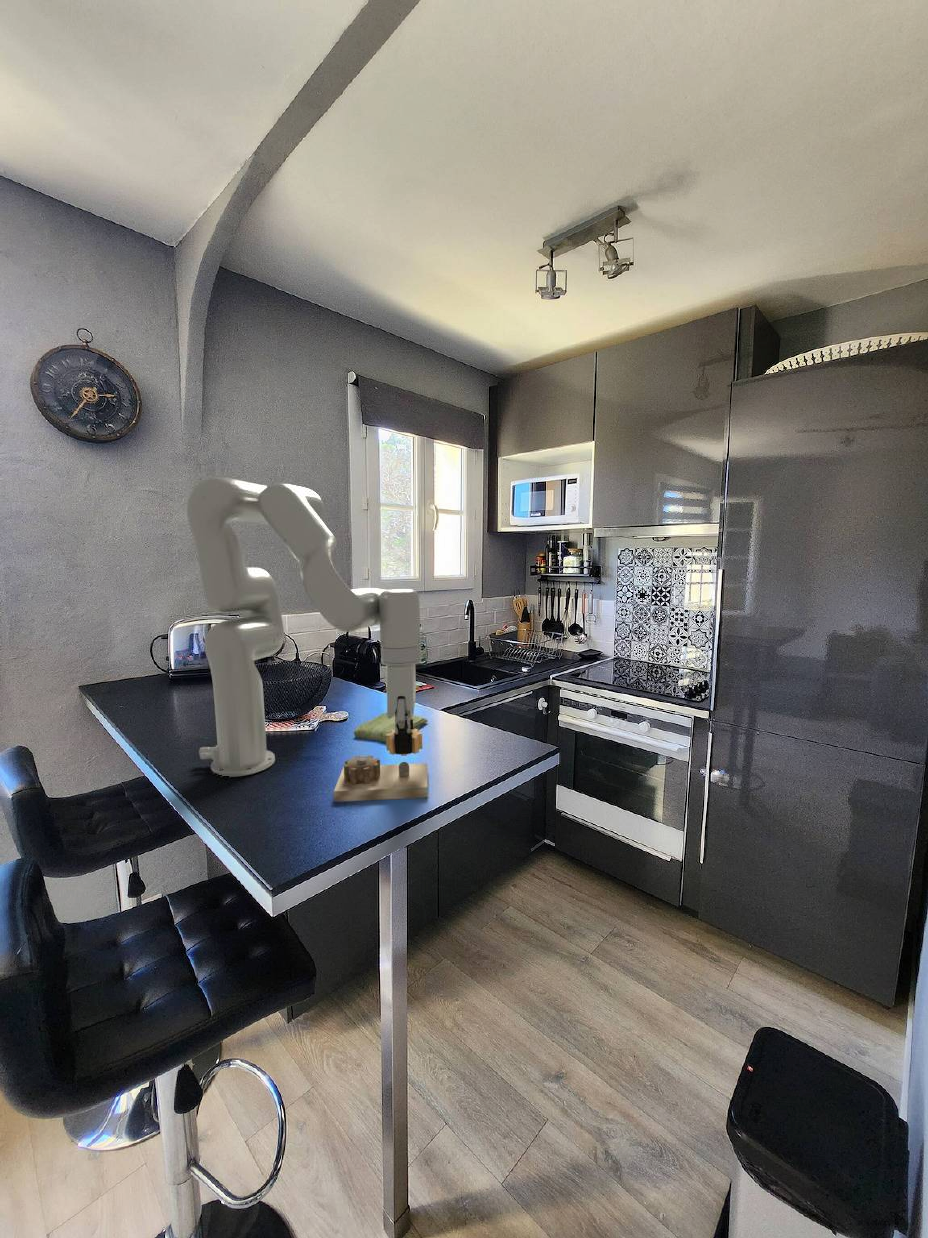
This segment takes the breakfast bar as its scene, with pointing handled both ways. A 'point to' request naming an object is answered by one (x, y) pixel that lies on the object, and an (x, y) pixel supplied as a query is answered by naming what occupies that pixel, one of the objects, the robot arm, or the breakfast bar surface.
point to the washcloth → (383, 727)
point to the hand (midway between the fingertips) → (404, 745)
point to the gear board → (380, 780)
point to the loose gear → (415, 742)
